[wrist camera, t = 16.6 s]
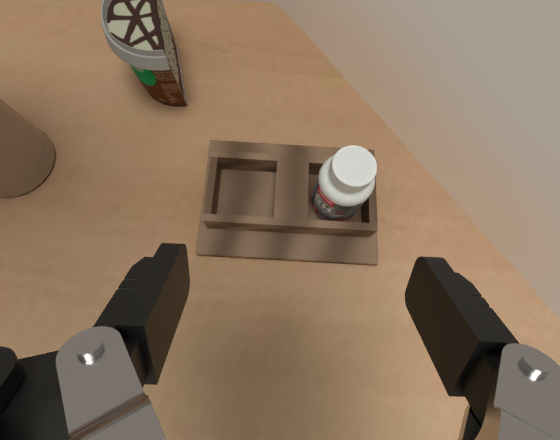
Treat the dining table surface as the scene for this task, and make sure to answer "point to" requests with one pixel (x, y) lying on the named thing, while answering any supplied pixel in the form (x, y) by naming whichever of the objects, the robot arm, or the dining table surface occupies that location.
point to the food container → (146, 46)
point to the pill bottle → (344, 183)
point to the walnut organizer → (277, 207)
